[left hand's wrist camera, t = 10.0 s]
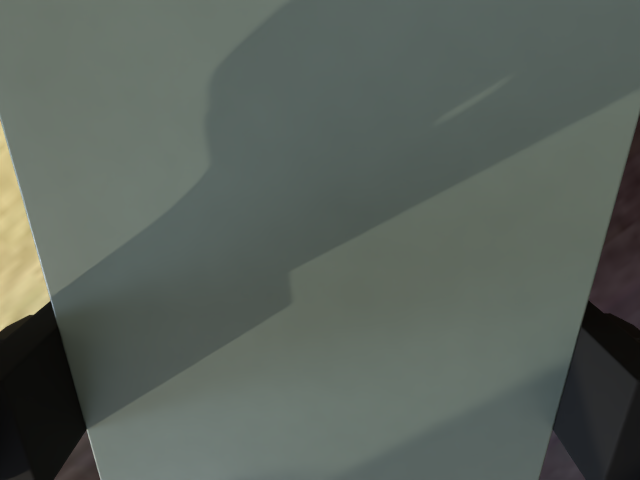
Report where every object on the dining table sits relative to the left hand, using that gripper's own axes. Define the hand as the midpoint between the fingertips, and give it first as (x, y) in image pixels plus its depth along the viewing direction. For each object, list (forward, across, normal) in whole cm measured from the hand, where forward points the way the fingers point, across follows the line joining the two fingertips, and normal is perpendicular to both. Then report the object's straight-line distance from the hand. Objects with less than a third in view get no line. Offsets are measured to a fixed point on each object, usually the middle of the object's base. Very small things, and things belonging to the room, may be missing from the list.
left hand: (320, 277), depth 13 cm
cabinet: (+4, 0, -5) cm, 6 cm away
